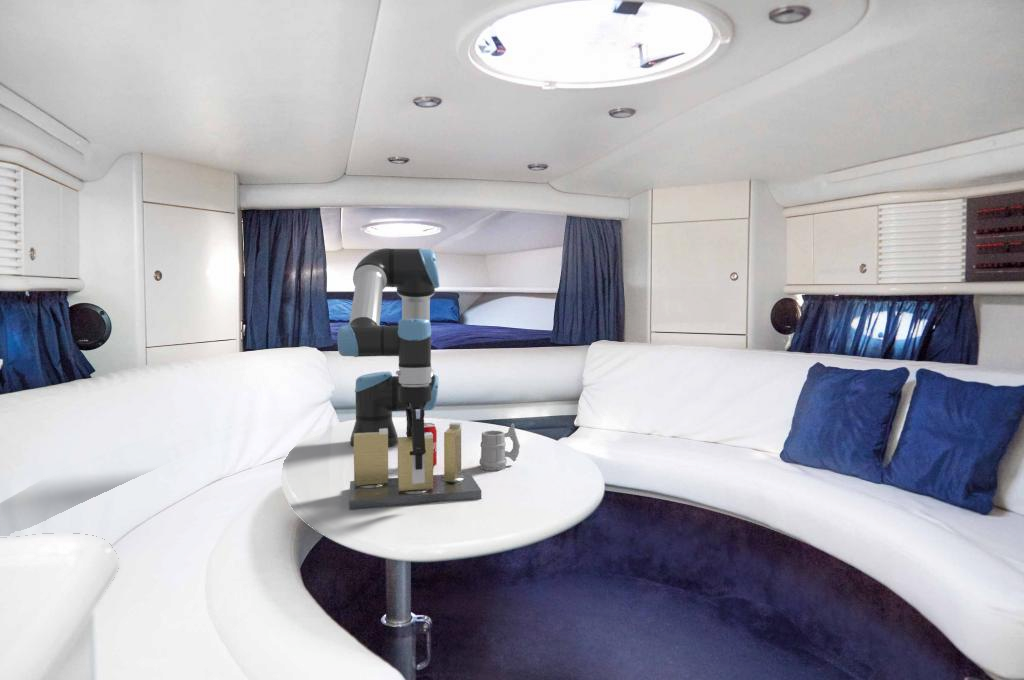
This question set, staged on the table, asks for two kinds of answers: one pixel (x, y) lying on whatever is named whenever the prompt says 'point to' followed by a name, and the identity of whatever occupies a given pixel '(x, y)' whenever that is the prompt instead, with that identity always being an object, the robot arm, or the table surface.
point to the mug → (497, 449)
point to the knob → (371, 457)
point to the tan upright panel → (452, 452)
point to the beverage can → (431, 428)
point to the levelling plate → (413, 492)
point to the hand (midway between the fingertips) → (415, 474)
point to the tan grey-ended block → (406, 464)
